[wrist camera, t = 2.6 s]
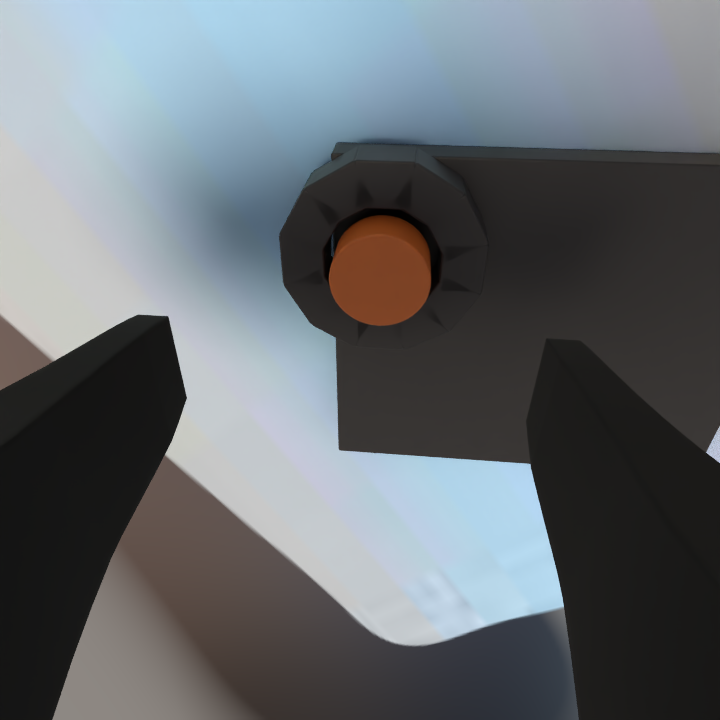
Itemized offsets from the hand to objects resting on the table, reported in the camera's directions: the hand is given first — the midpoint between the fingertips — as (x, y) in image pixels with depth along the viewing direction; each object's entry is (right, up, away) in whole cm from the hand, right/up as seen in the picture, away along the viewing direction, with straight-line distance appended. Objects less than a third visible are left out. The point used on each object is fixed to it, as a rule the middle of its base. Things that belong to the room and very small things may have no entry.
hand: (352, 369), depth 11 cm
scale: (+6, +1, +8) cm, 10 cm away
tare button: (+1, +3, +4) cm, 5 cm away
